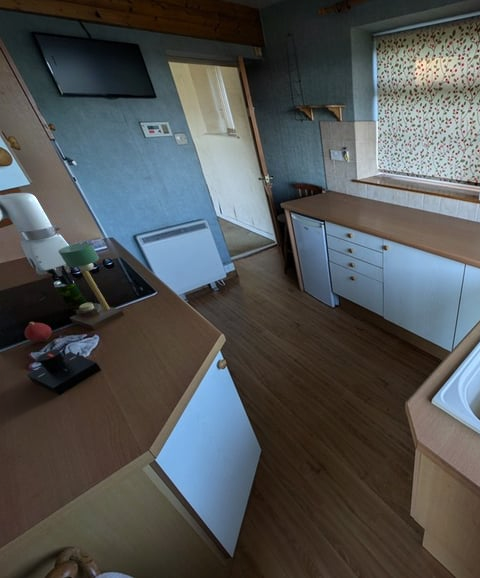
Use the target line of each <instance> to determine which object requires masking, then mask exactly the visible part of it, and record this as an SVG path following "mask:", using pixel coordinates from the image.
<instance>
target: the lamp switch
mask: <svg viewBox="0 0 480 578" xmlns="http://www.w3.org/2000/svg"><path fill="white" fill-rule="evenodd" d="M93 308H94V305H93V302H90V301H89V302H87V303H85V304H82V305H81V306H80V309H81V310H82V311H88V310H91V309H93Z"/></svg>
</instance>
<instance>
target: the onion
mask: <svg viewBox="0 0 480 578" xmlns="http://www.w3.org/2000/svg"><path fill="white" fill-rule="evenodd" d="M52 332H53V330H52V328H51V327H50V326H49V325H48V324H45V323H42V322H34V321H29V323H28V325H27V326H26V327H25V329H24V336H25V338H26V339H27V340H29V341H32V342H40V343H41V342H42V343H43V342H46V341H48V340H49V338H50V337H51V335H52Z"/></svg>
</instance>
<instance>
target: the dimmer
mask: <svg viewBox="0 0 480 578" xmlns="http://www.w3.org/2000/svg"><path fill="white" fill-rule="evenodd" d="M62 355H63V356H64V357H65V359H66V360H67V361H68V365H67V366H66V367H64V368H62V369H61V370H58V371H55V372H48V371H47V370H46V369H45V368H44V366H43V365H42V366H41V367H38V368H37V369H35V370H33V371H31V372H29V373H27V375H26V376H27V377H28V378H29V379H30V381H32V383H34V384H36V385H38V386H40V387H41V388H44V389H46V390H48V391H50V392H52V393H54V394H56V395H58V396H61V395H62V394H65V393H66V392H67V391H69V390H71V389H73V388H74V387H76V386H77V385H79V384H80V383H82V382H84V381H86V380H87V379H89V378H90V377H92V376H94V375H95V374H98V372H100V371H102V369H101V368H100V366H99V364H98V362H96V361H93V360H91V359H88V358H87V357H84V356H81V355H79V354H76V353H75V352H72V351H69V352H67V353H65V354H62Z"/></svg>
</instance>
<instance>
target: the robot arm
mask: <svg viewBox="0 0 480 578" xmlns="http://www.w3.org/2000/svg"><path fill="white" fill-rule="evenodd" d="M4 219H9V220H10V222H12V224H13V226H14V228H15V229H16V231H17V233H18V234H19V235H20V237H21V238H22V240H20V245H21V248H22V250H23V253H24V255H25V257H26V260H27V261H28V262H29V265H30V266H31V267H32V268H33V269H34V270H35V271H36V274H37V275H40V276H43V275H49V274H50V275H54V276H56V278H57V279H58V280H59V281H60V282H61V283H62V284H65V285H68V286H69V285H70V284H74V282H75V279H74V277H73V275H72V274H71V272H72V271H71V270H72V269H73V267H68V266H67V265H66V263H65V262H64V260H63V258H62V257H61V255H60V253H59V252H58V251H59V250H60V249H62V248H64V247H67V246H70V245H69V243H68V242H67V240H65V239H64V237H63V236H62V235H61V234H60V233H58V232H57V231H59V230H61V228H60V227H59V225H52V223H51V221H50V219H49V218H48V216H47V214H46V213H45V211H44V209H43V207H42V205H41V204H40V202H39V201H38V199H37V197H36V196H35V195H34V194H32V193H29V192H15V193H14V192H13V193H7V194H4V195H3V194H0V222H1V221H2V220H4ZM59 268H60V269H59ZM73 281H74V282H73Z"/></svg>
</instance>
